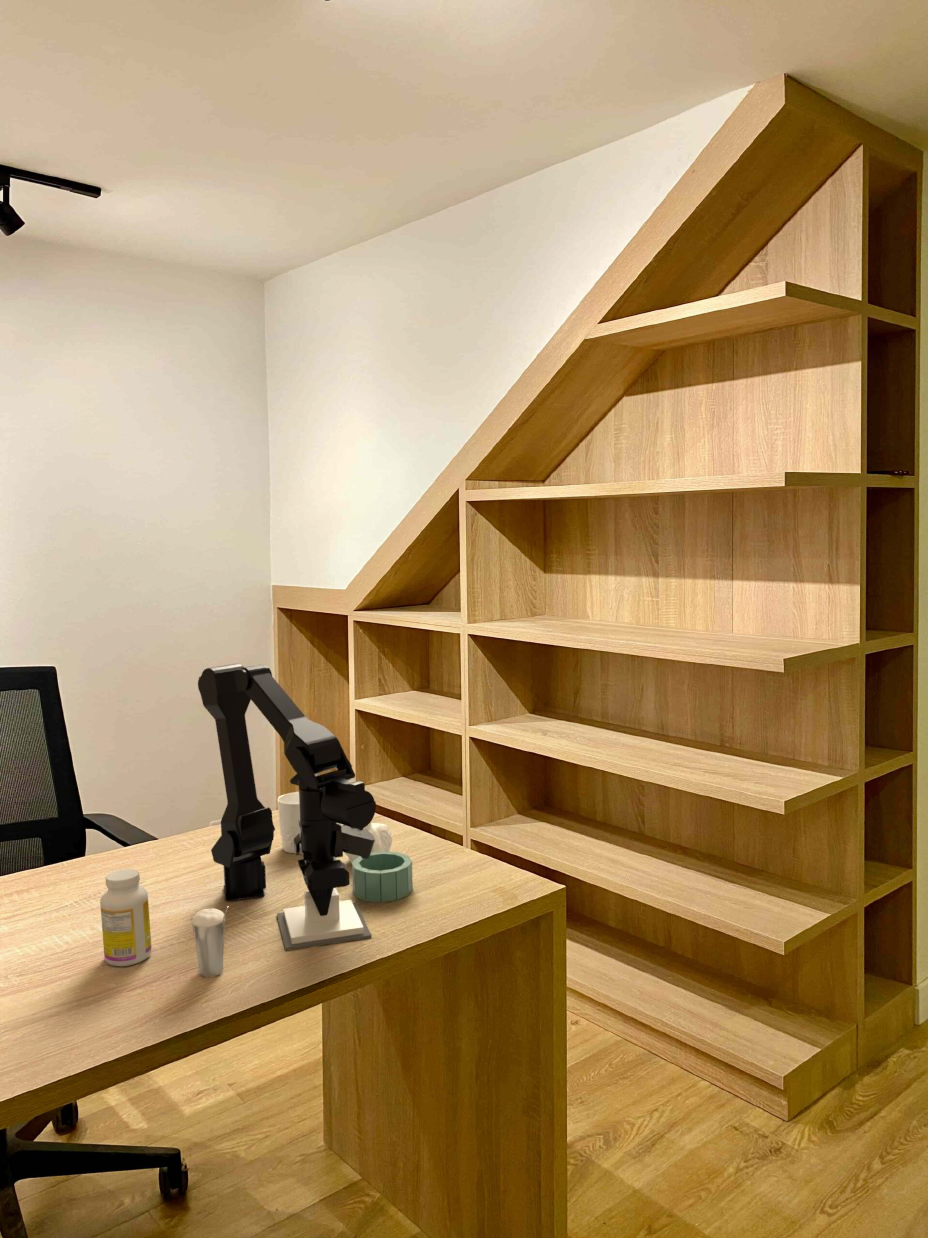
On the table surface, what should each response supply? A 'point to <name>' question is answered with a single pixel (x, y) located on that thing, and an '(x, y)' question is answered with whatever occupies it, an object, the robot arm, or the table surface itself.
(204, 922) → the milkshake
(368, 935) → the mat
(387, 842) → the bust
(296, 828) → the white cup
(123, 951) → the supplement bottle
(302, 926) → the lid
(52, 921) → the table surface
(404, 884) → the bowl
